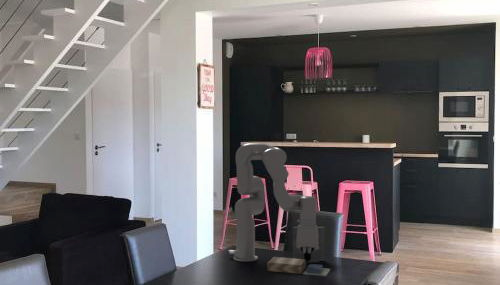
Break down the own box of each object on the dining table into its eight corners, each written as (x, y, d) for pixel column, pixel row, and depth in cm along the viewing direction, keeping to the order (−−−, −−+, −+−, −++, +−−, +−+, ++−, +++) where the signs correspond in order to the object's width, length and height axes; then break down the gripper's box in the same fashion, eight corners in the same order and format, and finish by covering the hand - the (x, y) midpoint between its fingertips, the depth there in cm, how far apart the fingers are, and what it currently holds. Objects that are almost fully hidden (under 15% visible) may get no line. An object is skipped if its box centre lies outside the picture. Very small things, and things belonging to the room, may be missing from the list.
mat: (302, 274, 250) (302, 273, 250) (307, 267, 262) (307, 266, 262) (326, 276, 246) (326, 275, 246) (330, 269, 259) (330, 268, 259)
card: (319, 269, 249) (319, 273, 249) (322, 264, 258) (322, 269, 258) (306, 268, 251) (306, 272, 251) (310, 263, 260) (310, 268, 260)
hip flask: (323, 260, 277) (324, 221, 277) (325, 262, 273) (325, 223, 273) (292, 260, 276) (293, 221, 276) (294, 262, 272) (294, 223, 272)
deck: (267, 270, 255) (267, 262, 255) (273, 264, 267) (273, 256, 267) (300, 273, 250) (300, 265, 250) (305, 267, 262) (305, 259, 262)
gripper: (290, 222, 254) (290, 261, 254) (322, 224, 249) (321, 264, 250) (294, 220, 261) (293, 258, 261) (324, 222, 256) (324, 260, 257)
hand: (307, 261), depth 255 cm, fingers closed
